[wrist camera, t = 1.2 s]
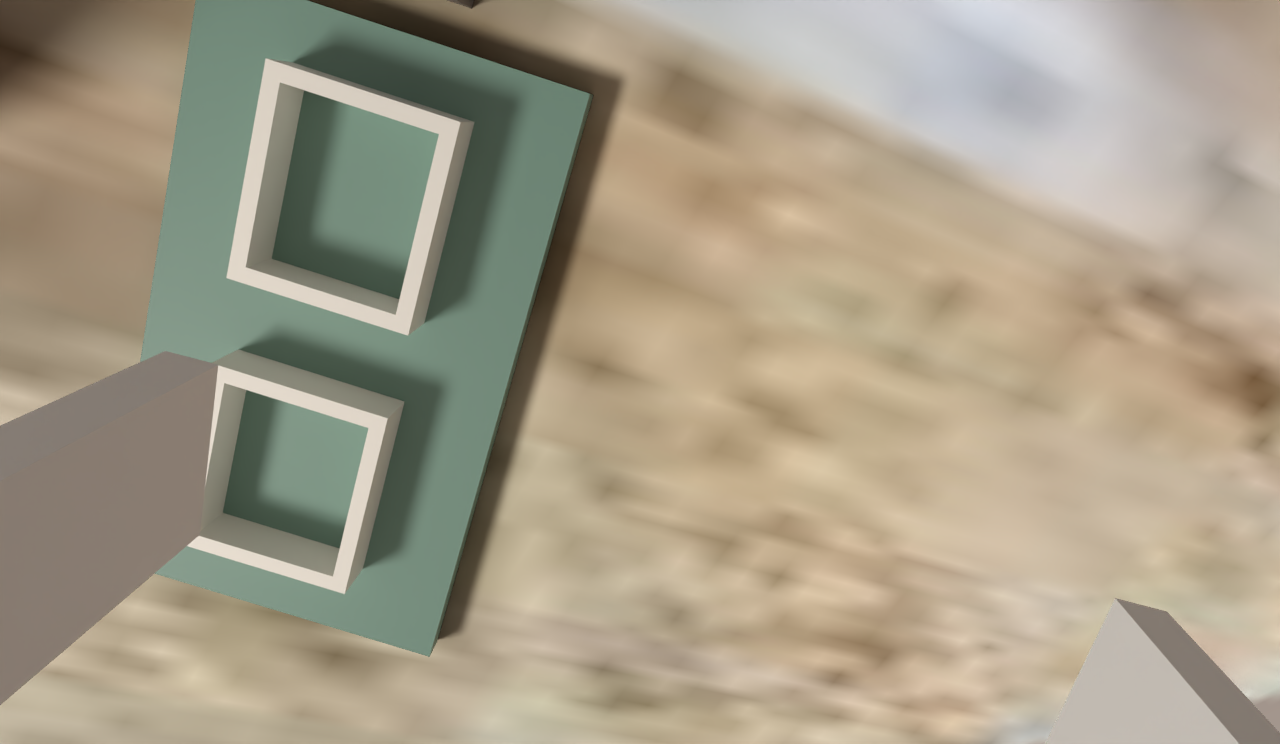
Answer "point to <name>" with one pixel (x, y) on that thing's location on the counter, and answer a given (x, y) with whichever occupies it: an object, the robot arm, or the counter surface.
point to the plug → (464, 2)
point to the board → (350, 299)
